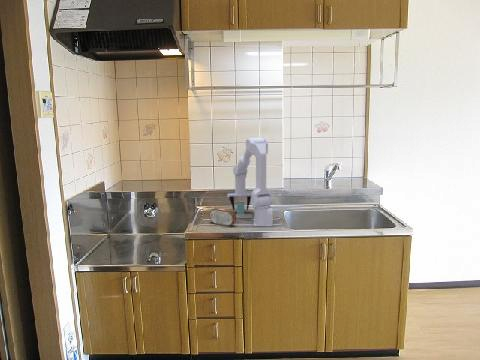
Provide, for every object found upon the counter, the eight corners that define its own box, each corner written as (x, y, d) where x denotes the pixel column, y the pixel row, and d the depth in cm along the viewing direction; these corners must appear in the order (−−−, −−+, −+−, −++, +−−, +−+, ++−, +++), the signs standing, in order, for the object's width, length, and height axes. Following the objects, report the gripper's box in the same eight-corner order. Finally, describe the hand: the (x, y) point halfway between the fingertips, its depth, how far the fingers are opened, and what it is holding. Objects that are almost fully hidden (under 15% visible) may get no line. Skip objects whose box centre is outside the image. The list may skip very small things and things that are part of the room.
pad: (252, 215, 216) (252, 214, 216) (252, 219, 209) (252, 217, 208) (235, 215, 217) (235, 214, 216) (235, 219, 209) (235, 218, 209)
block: (244, 212, 223) (244, 202, 222) (244, 214, 219) (244, 203, 218) (237, 212, 223) (237, 202, 222) (237, 214, 220) (236, 203, 218)
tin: (236, 225, 198) (236, 209, 196) (233, 227, 195) (233, 211, 193) (212, 221, 205) (211, 206, 204) (208, 223, 202) (208, 207, 201)
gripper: (253, 184, 222) (253, 207, 225) (227, 184, 223) (228, 208, 225) (253, 187, 216) (253, 211, 218) (227, 187, 216) (227, 211, 218)
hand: (240, 209), depth 221 cm, fingers open, 7 cm apart
